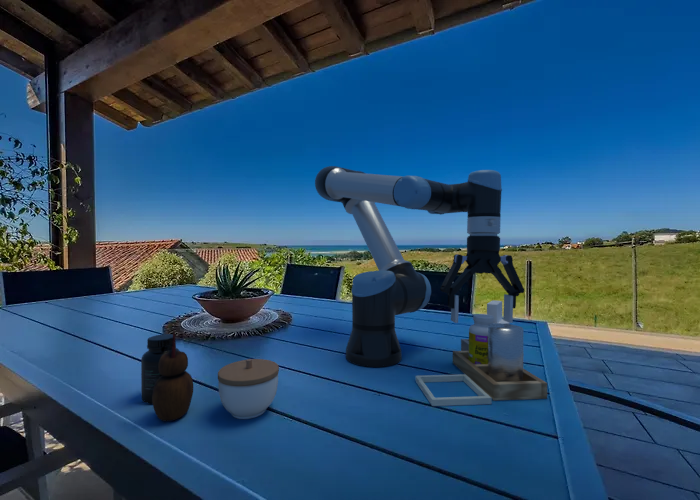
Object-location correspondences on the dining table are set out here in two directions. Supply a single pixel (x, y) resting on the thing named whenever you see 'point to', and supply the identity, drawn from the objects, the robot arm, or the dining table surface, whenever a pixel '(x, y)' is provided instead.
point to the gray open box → (464, 344)
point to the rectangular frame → (448, 401)
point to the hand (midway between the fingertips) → (481, 321)
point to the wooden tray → (500, 390)
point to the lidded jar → (248, 387)
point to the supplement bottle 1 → (153, 363)
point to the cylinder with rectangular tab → (496, 311)
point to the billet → (505, 352)
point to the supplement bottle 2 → (479, 338)
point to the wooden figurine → (172, 385)
